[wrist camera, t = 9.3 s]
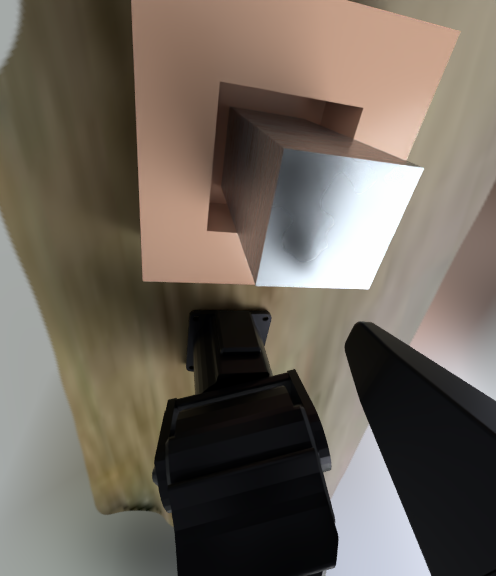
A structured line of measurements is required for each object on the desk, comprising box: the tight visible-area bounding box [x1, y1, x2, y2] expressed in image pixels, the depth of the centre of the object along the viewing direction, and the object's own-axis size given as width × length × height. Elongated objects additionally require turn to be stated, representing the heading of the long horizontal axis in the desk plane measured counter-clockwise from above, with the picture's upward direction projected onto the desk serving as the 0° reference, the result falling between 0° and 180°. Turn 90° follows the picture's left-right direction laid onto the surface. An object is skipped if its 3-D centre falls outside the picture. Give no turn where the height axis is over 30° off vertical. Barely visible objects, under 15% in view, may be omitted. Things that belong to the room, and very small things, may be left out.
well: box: [131, 0, 461, 285], centre depth 16 cm, size 12×12×5 cm
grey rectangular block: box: [221, 106, 424, 289], centre depth 13 cm, size 4×4×10 cm
